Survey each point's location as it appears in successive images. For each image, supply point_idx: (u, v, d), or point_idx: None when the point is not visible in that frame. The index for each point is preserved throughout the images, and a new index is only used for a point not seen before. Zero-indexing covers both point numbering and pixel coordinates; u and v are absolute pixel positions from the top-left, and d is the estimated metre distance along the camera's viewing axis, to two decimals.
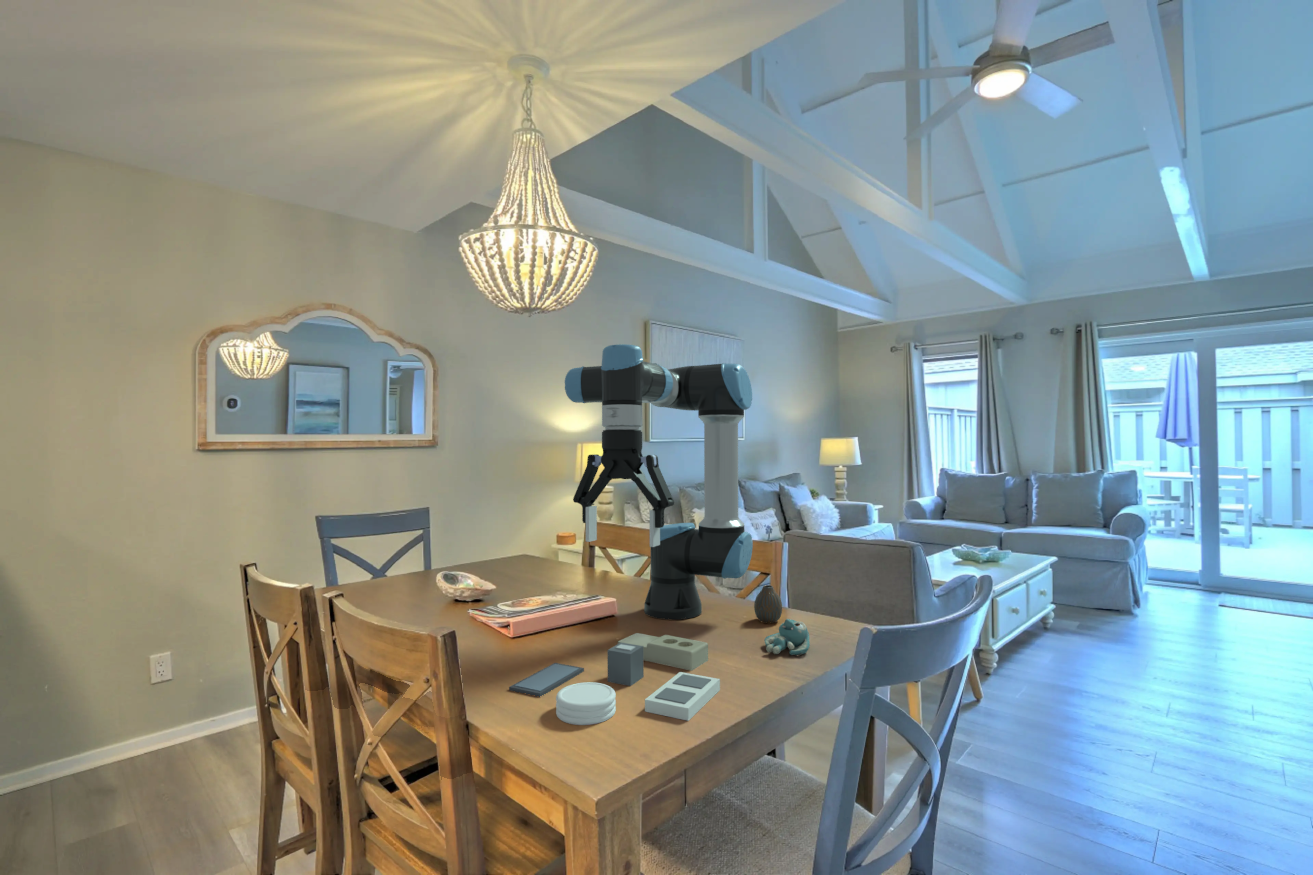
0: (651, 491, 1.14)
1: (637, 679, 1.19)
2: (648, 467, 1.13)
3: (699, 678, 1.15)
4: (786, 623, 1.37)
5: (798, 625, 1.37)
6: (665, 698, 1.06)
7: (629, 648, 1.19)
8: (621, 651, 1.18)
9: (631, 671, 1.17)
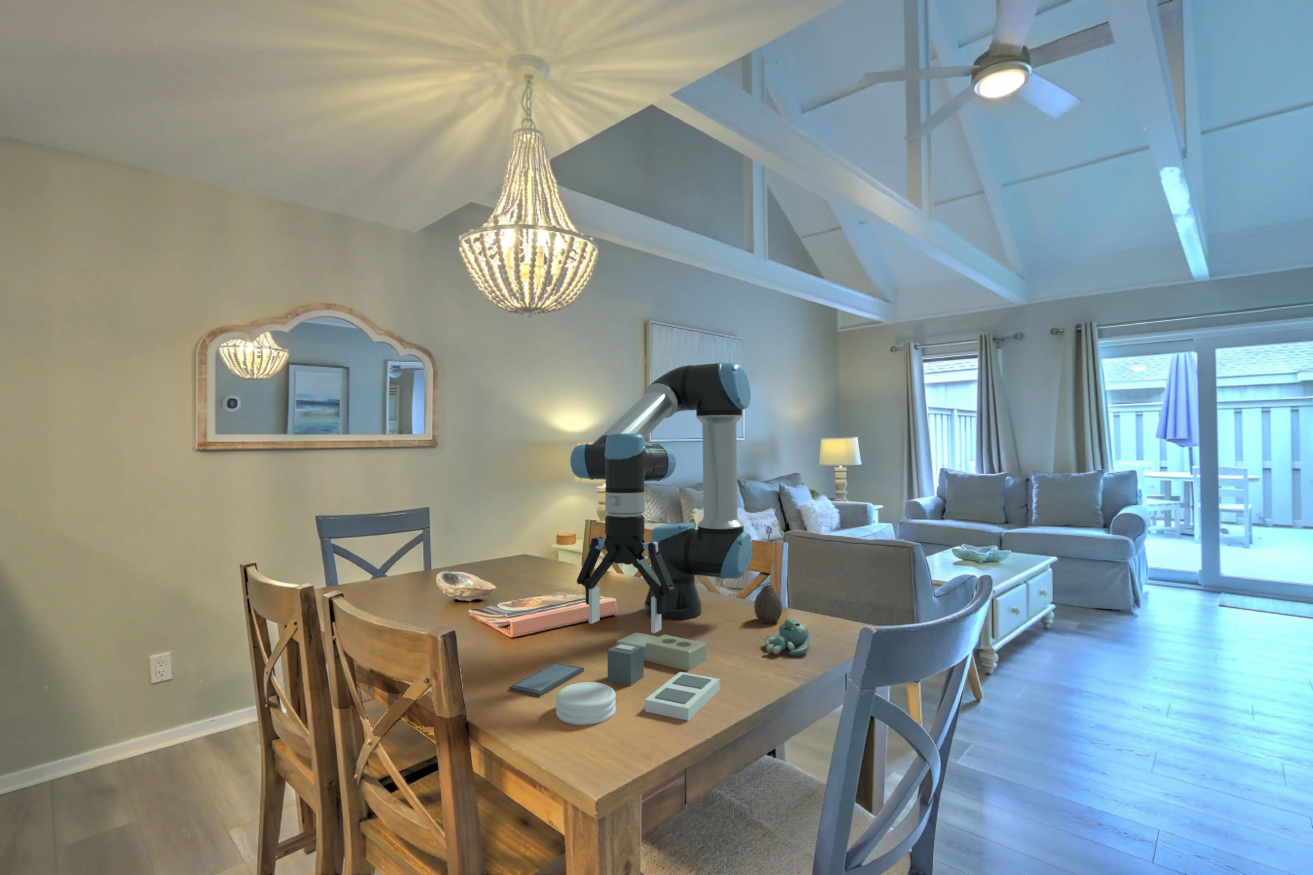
0: (652, 577, 1.17)
1: (637, 679, 1.19)
2: (650, 554, 1.16)
3: (699, 678, 1.15)
4: (786, 623, 1.36)
5: (798, 625, 1.36)
6: (665, 698, 1.06)
7: (629, 648, 1.19)
8: (621, 651, 1.18)
9: (631, 671, 1.17)
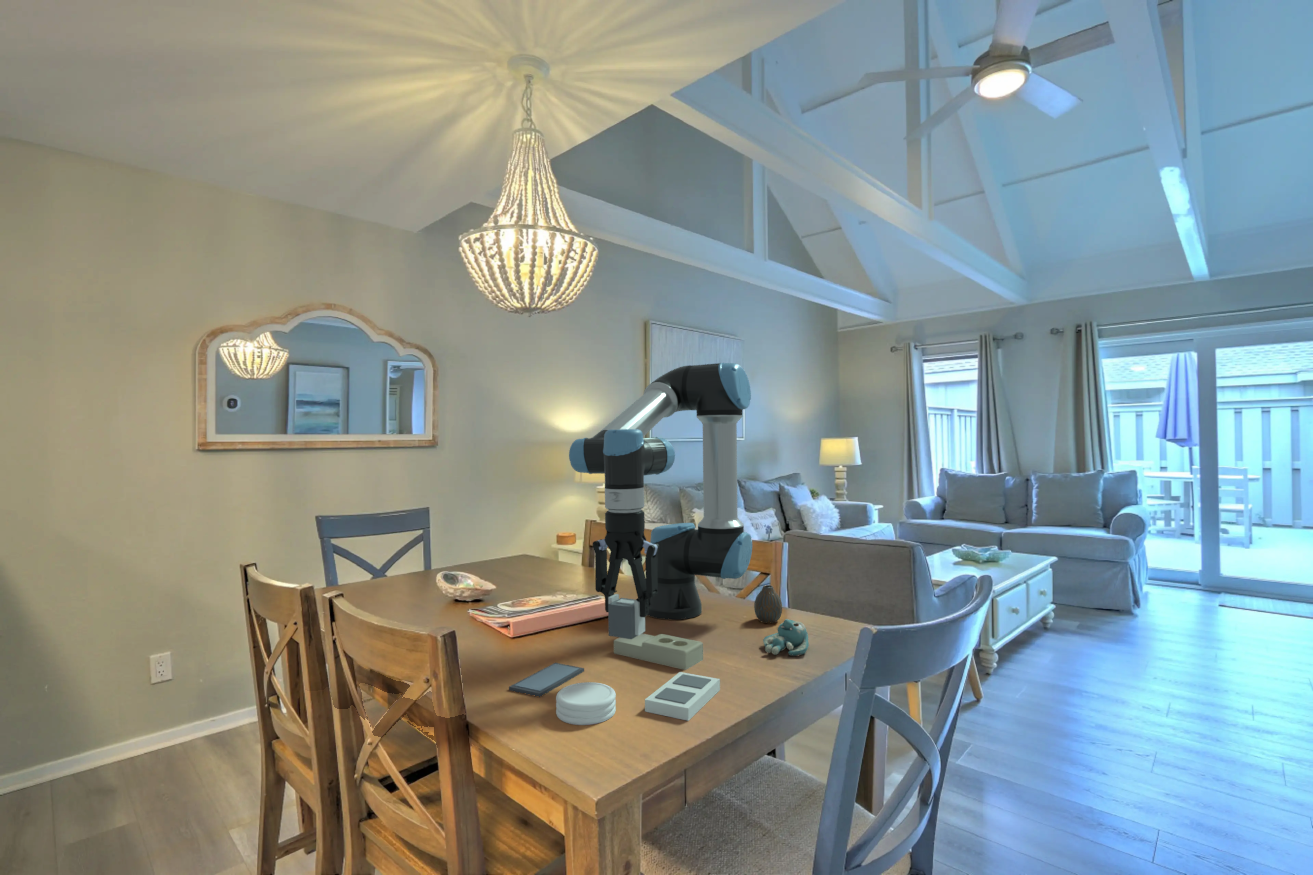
0: (641, 580, 1.18)
1: None
2: (647, 556, 1.17)
3: (699, 678, 1.15)
4: (785, 623, 1.36)
5: (797, 625, 1.36)
6: (665, 698, 1.06)
7: (630, 602, 1.20)
8: (622, 605, 1.19)
9: (632, 624, 1.17)
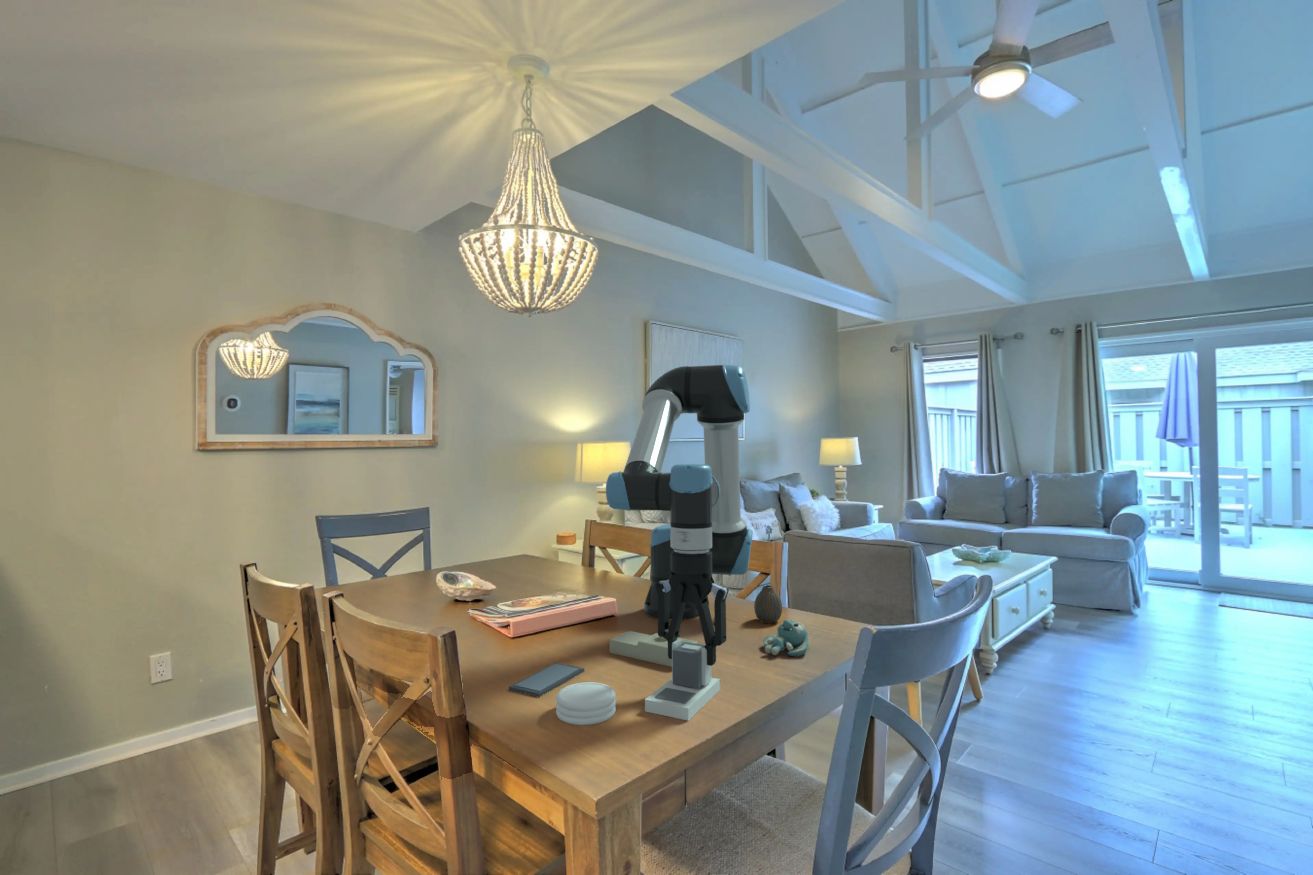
0: (709, 626, 1.11)
1: None
2: (716, 600, 1.10)
3: None
4: (785, 624, 1.36)
5: (797, 626, 1.36)
6: (665, 698, 1.06)
7: (695, 648, 1.12)
8: (688, 651, 1.11)
9: (699, 672, 1.10)
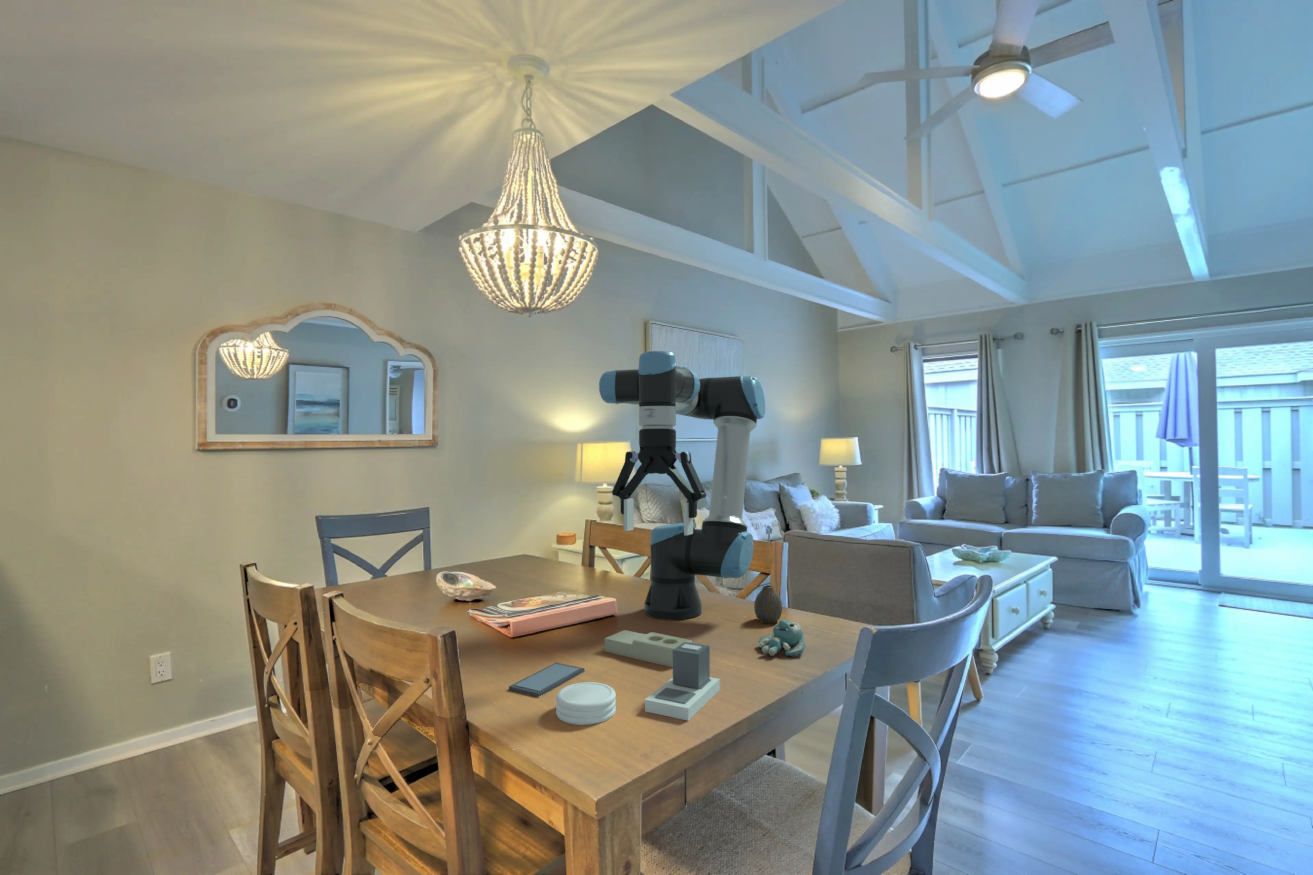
0: (684, 484, 1.25)
1: (704, 681, 1.12)
2: (682, 463, 1.25)
3: None
4: (781, 624, 1.36)
5: (793, 626, 1.36)
6: (665, 698, 1.06)
7: (695, 648, 1.12)
8: (688, 651, 1.11)
9: (699, 672, 1.10)
